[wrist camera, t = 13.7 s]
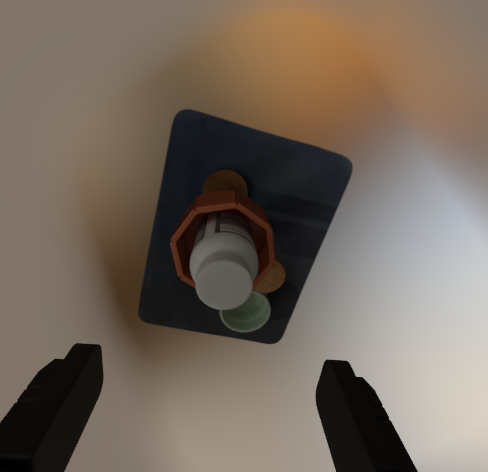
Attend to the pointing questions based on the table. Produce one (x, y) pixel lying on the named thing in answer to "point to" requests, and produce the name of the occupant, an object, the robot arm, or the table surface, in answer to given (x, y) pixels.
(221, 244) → the pill bottle
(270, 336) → the table surface
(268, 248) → the raised bowl
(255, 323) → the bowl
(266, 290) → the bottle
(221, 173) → the stand
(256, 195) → the table surface
